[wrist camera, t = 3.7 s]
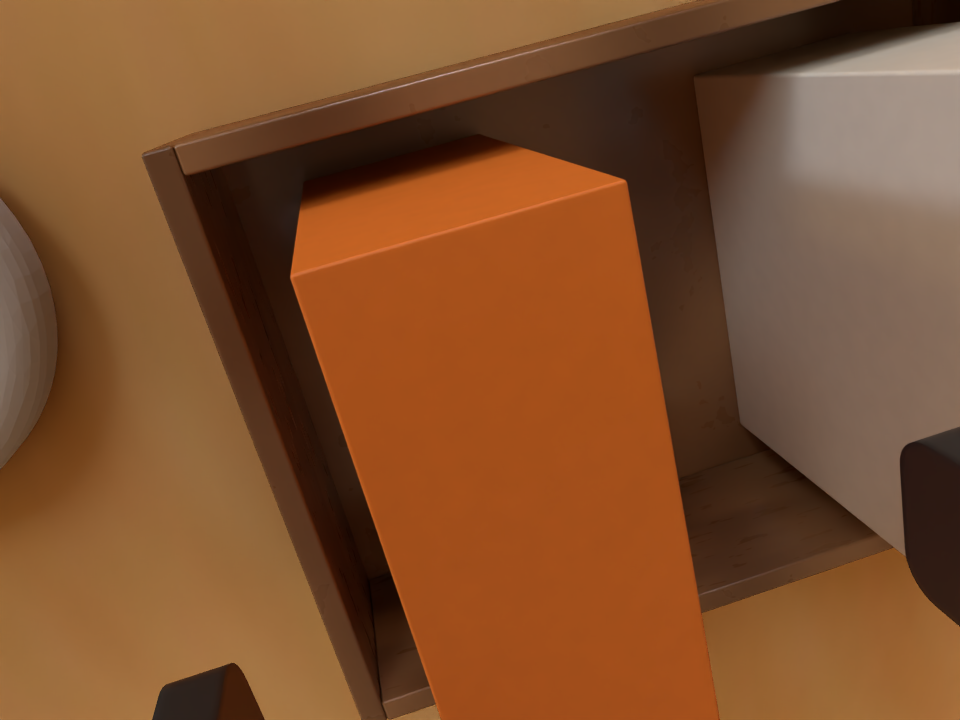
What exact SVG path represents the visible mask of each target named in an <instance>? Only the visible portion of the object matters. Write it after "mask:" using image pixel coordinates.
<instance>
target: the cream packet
mask: <svg viewBox="0 0 960 720" xmlns="http://www.w3.org/2000/svg"><path fill="white" fill-rule="evenodd" d="M694 86H695V93H696V100H697V108H698V115H699V122H700V130H701V137H702V145H703V152H704V159H705V167H706V174H707V181H708V189H709V196H710V203H711V211H712V218H713V225H714V233H715V240H716V248H717V255H718V262H719V270H720V277H721V284H722V292H723V299H724V306H725V314H726V321H727V329H728V336H729V343H730V351H731V358H732V365H733V373H734V380H735V387H736V395H737V402H738V410H739V417H740V423H741V425H743V426H744V427H745V428H746V429H747V430H749V431H750V432H751V433H752V434H754V435H755V436H756V437H757V438H759V439H760V440H761V441H762V442H764V443H765V444H766V445H767V446H769V447H770V448H771V449H772V450H774V451H775V452H776V453H777V454H779V455H780V456H781V457H782V458H784V459H785V460H786V461H787V462H788V463H790V464H791V465H792V466H793V467H795V468H796V469H797V470H798V471H800V472H801V473H802V474H803V475H805V476H806V477H807V478H808V479H810V480H811V481H812V482H813V483H815V484H816V485H817V486H818V487H820V488H821V489H822V490H823V491H825V492H826V493H827V494H828V495H829V496H831V497H832V498H833V499H834V500H836V501H837V502H838V503H839V504H841V505H842V506H843V507H844V508H846V509H847V510H848V511H849V512H851V513H852V514H853V515H854V516H856V517H857V518H858V519H859V520H861V521H862V522H863V523H864V524H866V525H867V526H868V527H869V528H870V529H872V530H873V531H874V532H875V533H877V534H878V535H879V536H880V537H882V538H883V539H884V540H885V541H887V542H888V543H889V544H890V545H892V546H893V547H894V548H895V549H897V550H898V551H899V552H900V553H902V554H903V555H904V556H905V557H906V554H905V543H904V527H903V511H902V494H901V478H900V455H901V452H902V449H903V448H904V446H905V445H907V444H908V443H911V442H914V441H917V440H920V439H923V438H926V437H929V436H932V435H935V434H938V433H941V432H944V431H947V430H951V429H954V428H957V427H960V22H953V23H943V24H932V25H922V26H911V27H901V28H891V29H880V30H870V31H859V32H851V33H847V34H844V35H840V36H836V37H833V38H829V39H825V40H822V41H818V42H814V43H811V44H807V45H803V46H800V47H796V48H792V49H789V50H785V51H781V52H778V53H774V54H770V55H767V56H763V57H759V58H756V59H752V60H748V61H745V62H741V63H737V64H734V65H730V66H726V67H723V68H719V69H715V70H712V71H708V72H704V73H701V74H697V75H695V76H694Z"/></svg>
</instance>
